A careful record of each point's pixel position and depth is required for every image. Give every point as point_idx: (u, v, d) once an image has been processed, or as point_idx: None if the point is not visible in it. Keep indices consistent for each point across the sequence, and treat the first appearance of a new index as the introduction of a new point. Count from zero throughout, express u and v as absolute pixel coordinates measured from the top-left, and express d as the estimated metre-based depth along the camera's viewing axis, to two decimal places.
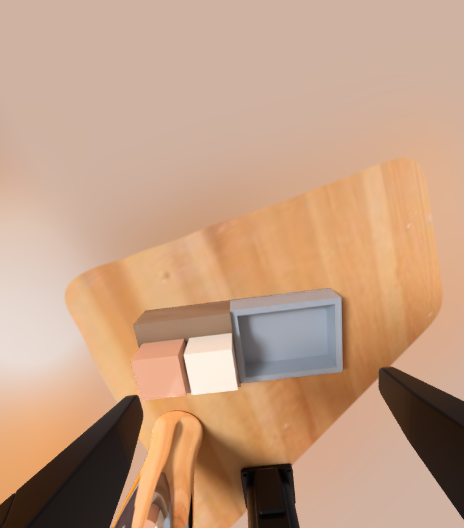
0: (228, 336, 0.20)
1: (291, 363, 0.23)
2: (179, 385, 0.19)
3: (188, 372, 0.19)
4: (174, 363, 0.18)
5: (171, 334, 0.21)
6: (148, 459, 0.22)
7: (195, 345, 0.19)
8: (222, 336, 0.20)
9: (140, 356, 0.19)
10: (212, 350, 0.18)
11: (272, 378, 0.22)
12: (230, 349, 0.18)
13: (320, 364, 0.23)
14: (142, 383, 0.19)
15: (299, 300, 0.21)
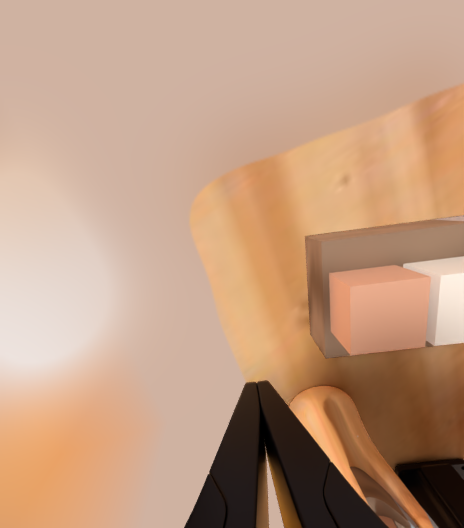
0: None
1: None
2: (418, 330, 0.12)
3: (440, 306, 0.11)
4: (421, 291, 0.11)
5: (377, 257, 0.13)
6: (323, 450, 0.15)
7: (436, 267, 0.12)
8: (463, 258, 0.13)
9: (358, 282, 0.12)
10: None
11: None
12: None
13: None
14: (359, 326, 0.12)
15: None
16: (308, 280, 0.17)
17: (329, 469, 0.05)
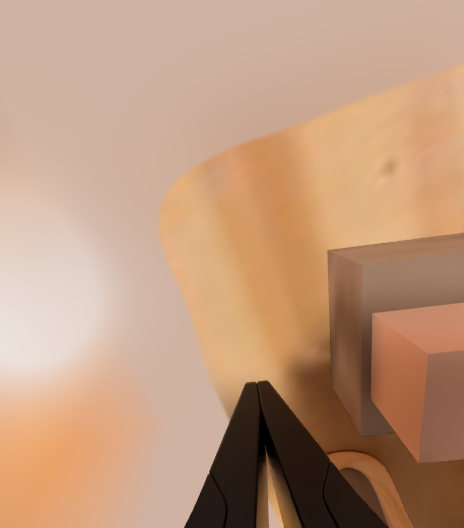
0: None
1: None
2: None
3: None
4: None
5: (451, 289, 0.08)
6: None
7: None
8: None
9: (436, 341, 0.07)
10: None
11: None
12: None
13: None
14: (438, 418, 0.07)
15: None
16: (331, 313, 0.12)
17: (329, 469, 0.05)
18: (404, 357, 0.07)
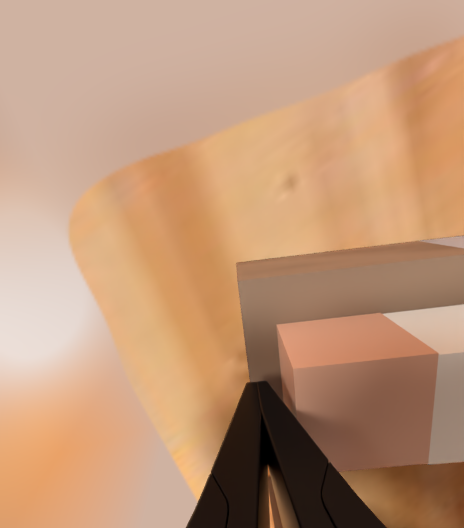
0: None
1: None
2: (416, 438, 0.07)
3: (437, 405, 0.07)
4: (422, 376, 0.06)
5: (328, 306, 0.09)
6: None
7: (431, 329, 0.07)
8: None
9: (310, 355, 0.07)
10: None
11: None
12: None
13: None
14: (314, 431, 0.07)
15: None
16: None
17: (327, 469, 0.05)
18: (287, 370, 0.07)
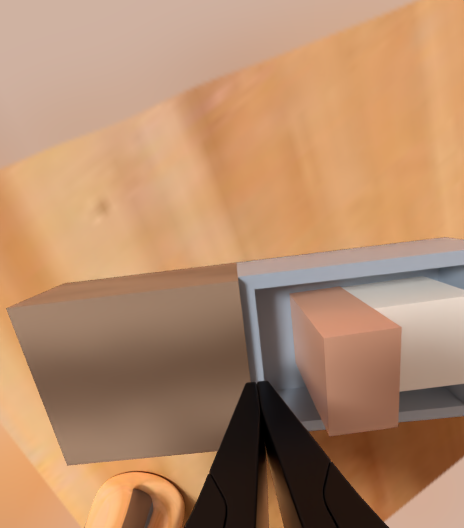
0: (369, 302, 0.09)
1: None
2: None
3: None
4: None
5: (99, 331, 0.09)
6: None
7: (426, 285, 0.10)
8: (386, 301, 0.09)
9: (373, 319, 0.08)
10: (374, 283, 0.11)
11: None
12: (343, 287, 0.11)
13: (424, 395, 0.11)
14: None
15: (399, 254, 0.09)
16: None
17: (329, 469, 0.05)
18: (376, 350, 0.07)
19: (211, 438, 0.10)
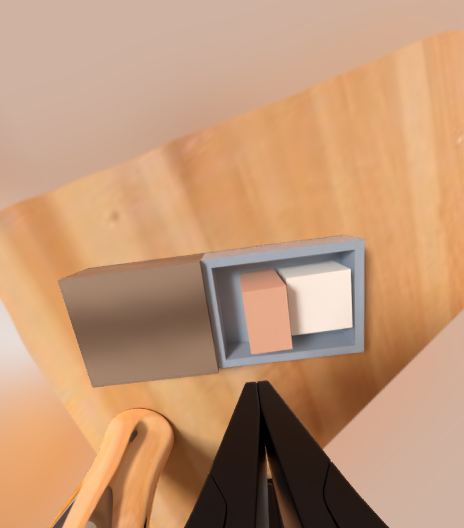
0: (287, 275, 0.14)
1: None
2: None
3: None
4: None
5: (115, 294, 0.14)
6: (87, 476, 0.15)
7: (328, 265, 0.15)
8: (297, 274, 0.14)
9: (275, 283, 0.13)
10: (300, 265, 0.16)
11: (263, 361, 0.16)
12: (279, 268, 0.16)
13: (332, 341, 0.16)
14: None
15: (302, 245, 0.14)
16: None
17: (329, 469, 0.05)
18: (273, 300, 0.13)
19: (187, 367, 0.15)
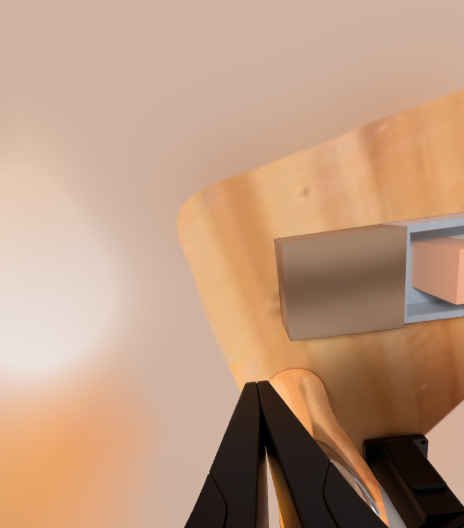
0: None
1: None
2: None
3: None
4: None
5: (328, 256, 0.16)
6: None
7: None
8: None
9: None
10: None
11: (440, 317, 0.18)
12: (448, 236, 0.18)
13: None
14: None
15: None
16: (278, 276, 0.20)
17: (329, 469, 0.05)
18: None
19: (377, 322, 0.17)
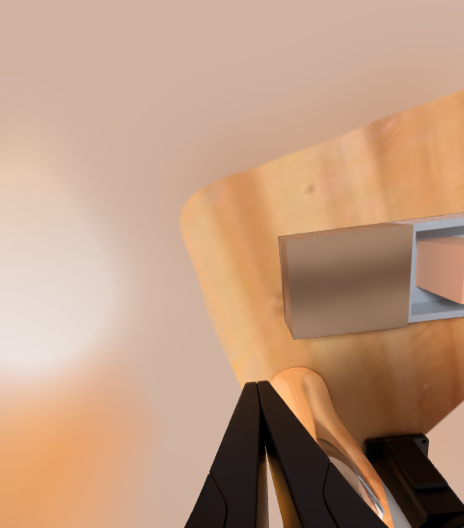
0: None
1: None
2: None
3: None
4: None
5: (333, 254, 0.16)
6: None
7: None
8: None
9: None
10: None
11: (444, 317, 0.18)
12: (453, 236, 0.18)
13: None
14: None
15: None
16: (281, 274, 0.19)
17: (329, 469, 0.05)
18: None
19: (381, 321, 0.17)
